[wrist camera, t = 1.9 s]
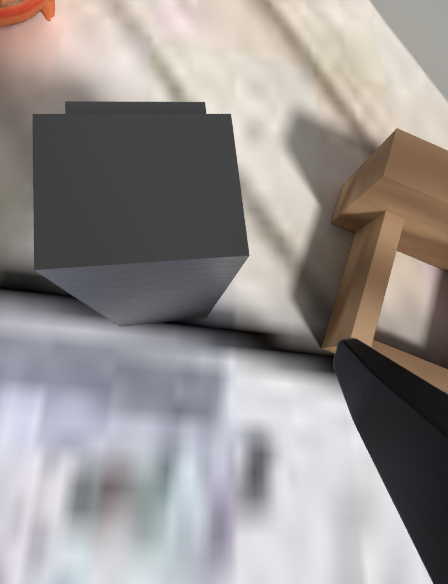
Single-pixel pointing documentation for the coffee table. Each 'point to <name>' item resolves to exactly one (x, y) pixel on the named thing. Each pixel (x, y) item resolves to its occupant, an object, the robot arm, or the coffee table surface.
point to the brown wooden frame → (390, 238)
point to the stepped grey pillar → (138, 208)
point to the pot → (24, 10)
